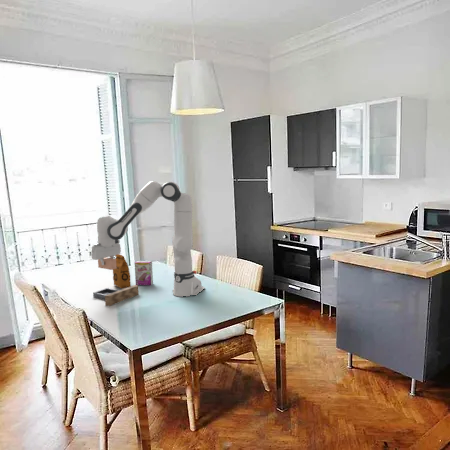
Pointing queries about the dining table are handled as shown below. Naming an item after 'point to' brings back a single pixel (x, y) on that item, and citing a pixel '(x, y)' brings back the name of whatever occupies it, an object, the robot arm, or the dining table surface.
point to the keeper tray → (103, 293)
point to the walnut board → (121, 295)
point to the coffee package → (121, 273)
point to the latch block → (107, 263)
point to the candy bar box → (143, 273)
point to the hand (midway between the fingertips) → (107, 263)
